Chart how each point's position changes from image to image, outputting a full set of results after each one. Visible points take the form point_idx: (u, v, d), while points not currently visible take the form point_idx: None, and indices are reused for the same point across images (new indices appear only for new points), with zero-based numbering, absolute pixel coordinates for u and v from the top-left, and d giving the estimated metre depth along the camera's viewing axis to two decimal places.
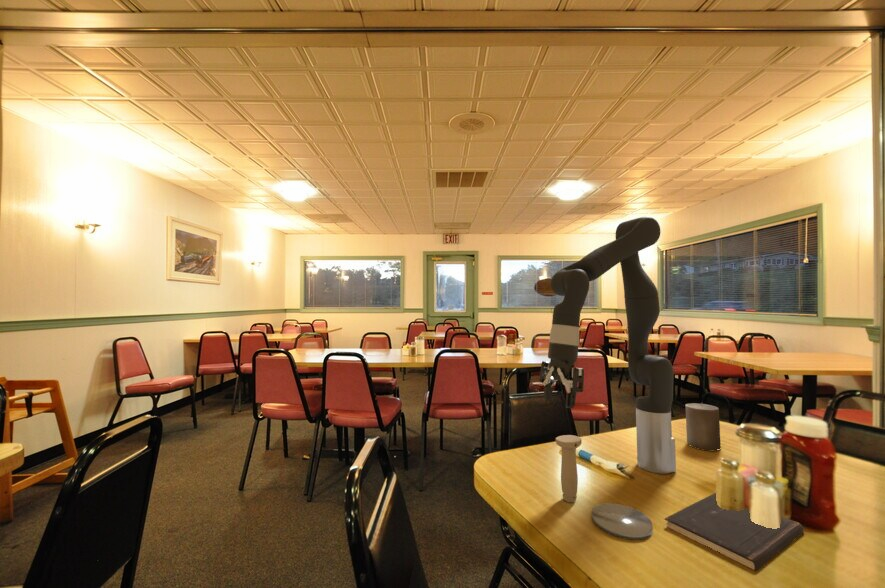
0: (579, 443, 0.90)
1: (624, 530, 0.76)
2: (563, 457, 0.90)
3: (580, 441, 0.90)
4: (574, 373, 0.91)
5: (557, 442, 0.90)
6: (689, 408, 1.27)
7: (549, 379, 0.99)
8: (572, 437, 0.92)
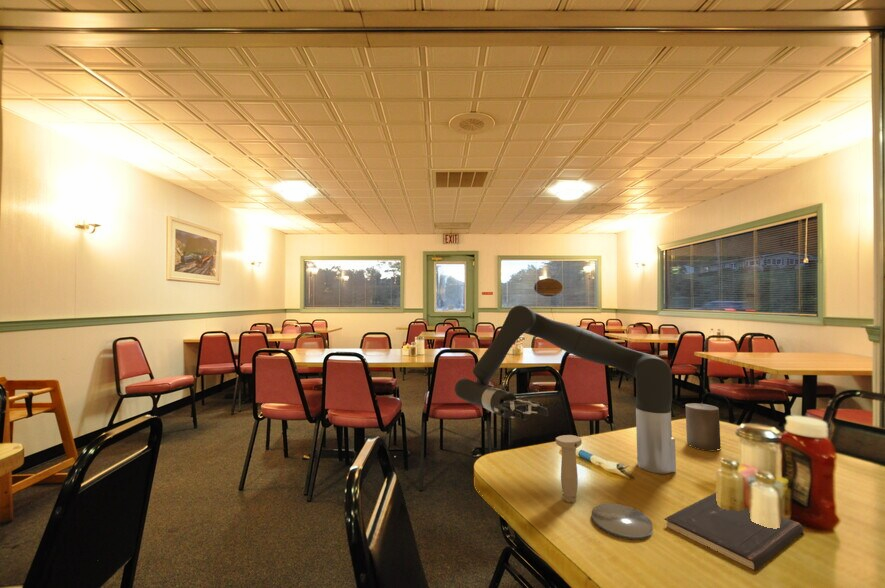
0: (579, 443, 0.90)
1: (624, 530, 0.76)
2: (563, 457, 0.90)
3: (580, 441, 0.90)
4: None
5: (557, 442, 0.90)
6: (689, 408, 1.27)
7: (529, 412, 1.07)
8: (572, 437, 0.92)
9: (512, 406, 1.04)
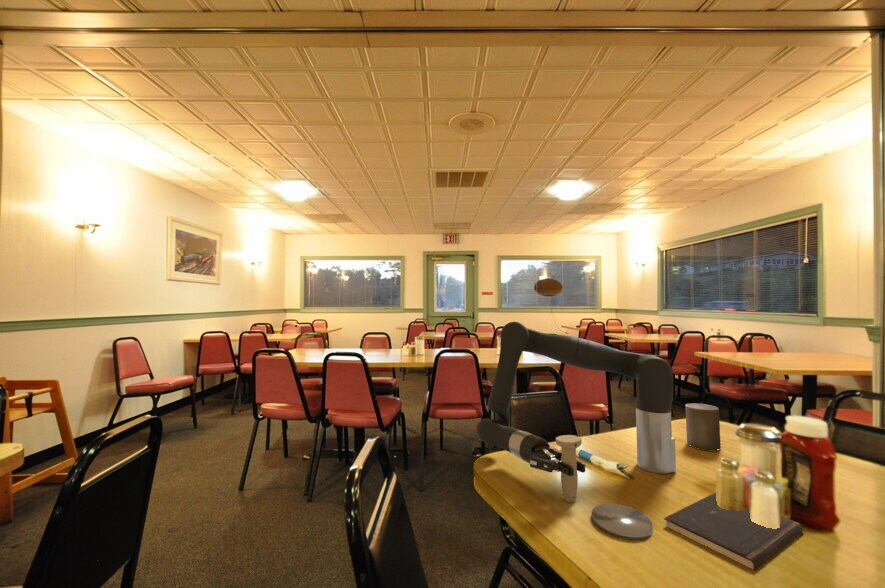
0: (579, 443, 0.90)
1: (624, 530, 0.76)
2: (563, 457, 0.90)
3: (580, 441, 0.90)
4: None
5: (557, 442, 0.90)
6: (689, 408, 1.27)
7: None
8: (572, 437, 0.92)
9: (553, 457, 0.93)
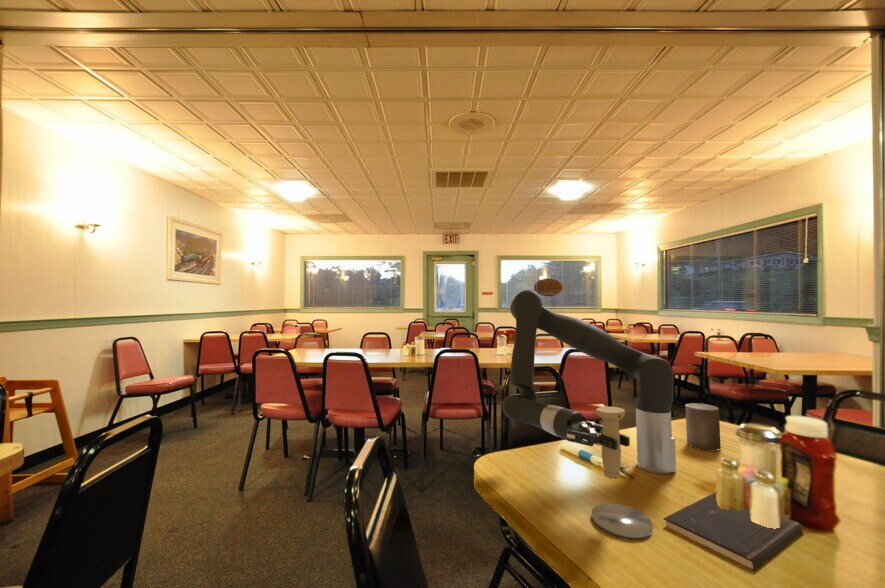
0: (623, 414, 0.82)
1: (624, 530, 0.76)
2: (605, 429, 0.82)
3: (624, 412, 0.82)
4: None
5: (598, 413, 0.82)
6: (689, 408, 1.27)
7: None
8: (614, 408, 0.84)
9: (593, 430, 0.85)
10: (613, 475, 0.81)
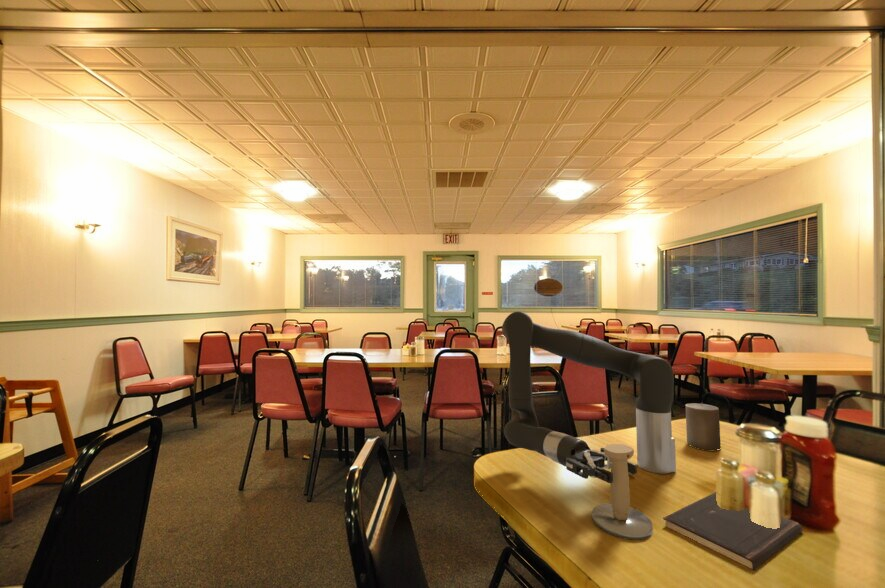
0: (631, 453, 0.80)
1: (624, 530, 0.76)
2: (613, 469, 0.81)
3: (632, 451, 0.81)
4: None
5: (606, 452, 0.81)
6: (689, 408, 1.27)
7: (608, 467, 0.87)
8: (623, 447, 0.82)
9: (590, 461, 0.84)
10: (622, 516, 0.79)
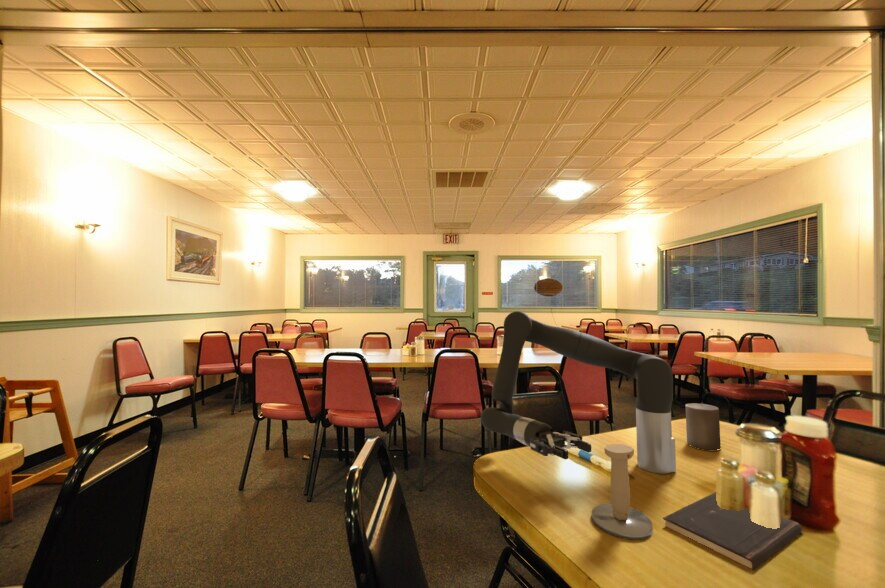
0: (632, 453, 0.80)
1: (624, 530, 0.76)
2: (613, 469, 0.81)
3: (633, 451, 0.81)
4: None
5: (607, 452, 0.81)
6: (689, 408, 1.27)
7: (568, 446, 0.98)
8: (623, 447, 0.82)
9: (551, 441, 0.94)
10: (622, 516, 0.79)
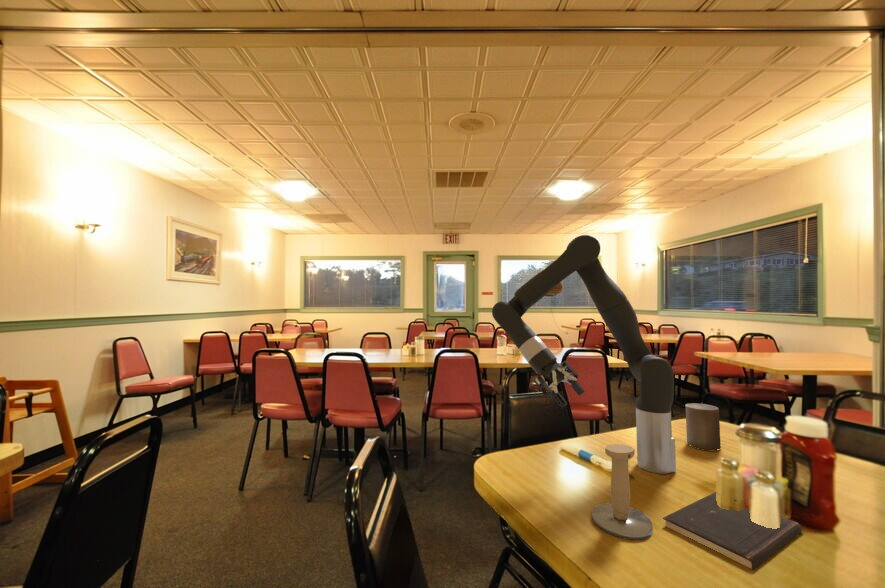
0: (632, 453, 0.80)
1: (624, 530, 0.76)
2: (614, 469, 0.81)
3: (633, 451, 0.81)
4: None
5: (607, 452, 0.81)
6: (689, 408, 1.27)
7: (563, 381, 1.09)
8: (624, 447, 0.82)
9: (555, 385, 1.04)
10: (622, 516, 0.79)
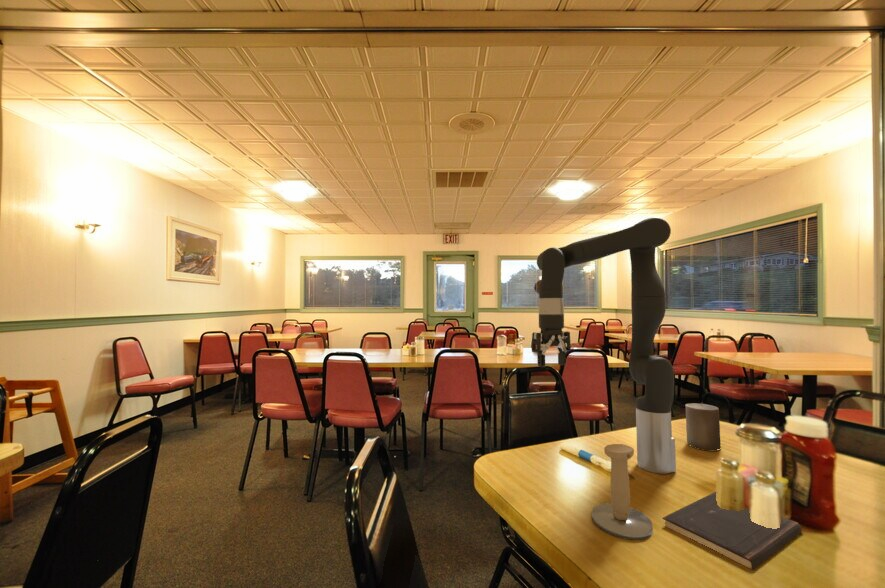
0: (631, 453, 0.80)
1: (624, 530, 0.76)
2: (613, 469, 0.81)
3: (632, 451, 0.81)
4: None
5: (607, 452, 0.81)
6: (689, 408, 1.27)
7: (555, 346, 1.15)
8: (623, 447, 0.82)
9: (546, 348, 1.09)
10: (622, 516, 0.79)
